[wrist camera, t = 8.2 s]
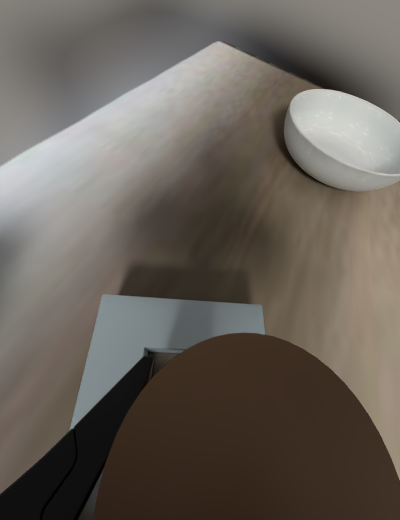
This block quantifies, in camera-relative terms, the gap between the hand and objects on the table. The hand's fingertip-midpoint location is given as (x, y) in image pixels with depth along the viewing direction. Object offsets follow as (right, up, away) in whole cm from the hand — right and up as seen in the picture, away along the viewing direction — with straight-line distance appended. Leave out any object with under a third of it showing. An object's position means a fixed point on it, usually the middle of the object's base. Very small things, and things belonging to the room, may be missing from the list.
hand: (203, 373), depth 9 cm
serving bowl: (+22, +22, +30) cm, 43 cm away
